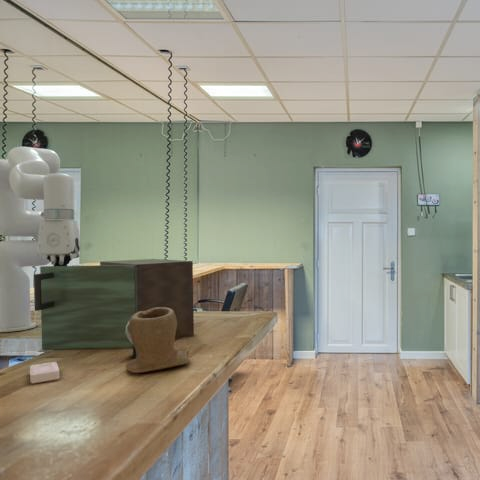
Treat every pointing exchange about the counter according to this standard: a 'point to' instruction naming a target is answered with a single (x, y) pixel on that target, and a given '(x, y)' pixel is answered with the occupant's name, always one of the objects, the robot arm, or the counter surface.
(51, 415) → the counter surface
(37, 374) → the soap bar
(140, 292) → the cupboard
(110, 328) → the cupboard door
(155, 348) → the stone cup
